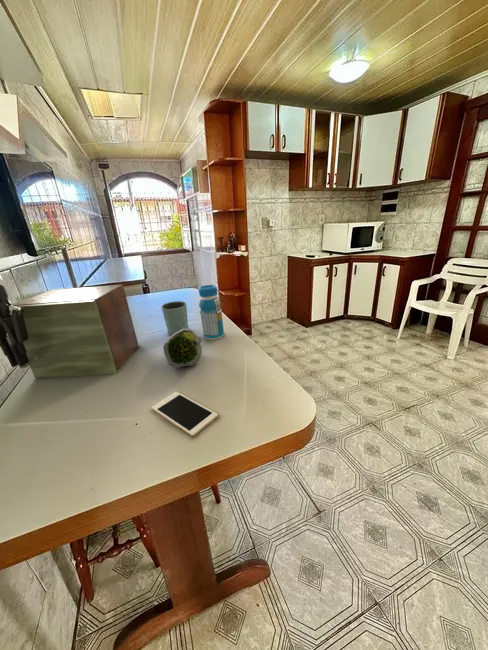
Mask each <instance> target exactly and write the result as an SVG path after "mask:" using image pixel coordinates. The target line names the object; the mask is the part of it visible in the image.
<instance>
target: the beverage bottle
mask: <svg viewBox="0 0 488 650" xmlns="http://www.w3.org/2000/svg"><path fill="white" fill-rule="evenodd" d="M198 294H199V297H200V300H199V302H198V303H199V304H198V307H199V308H200V309H199V315H200V319H201V321H200V322H201V326H202V332H203V337H204V339H206V340H211V341H212V340H213V341H214V340H219V339H220V338H223V337H224V335H225V330H224V321H223V310H222V307H221V301H220V299H219V297H218V287H217V285H214V284H207V285H201V286H199V287H198Z"/></svg>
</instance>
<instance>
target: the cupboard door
mask: <svg viewBox="0 0 488 650" xmlns="http://www.w3.org/2000/svg"><path fill="white" fill-rule="evenodd" d="M15 307H17V308H19V307H23V309H24V312H23V317H24V321H25V325H26V329H27V333H28V337H29V339H27V340H26V341H24V342H23V344H24V346H25V348H26V351H27V352H26V355H27V357H28V359H29V362H28V363H27V364H25V365H24V366H22V367H20V366H19V364H18V365H17V366H18V368H19V369H21V370H22V369H25V368H28V367H29V368H30V370H31V373H32V374H33V377H34V379H52V378H54V379H55V378H67V377H68V378H69V377H81V376H82V377H85V376H100V375H101V376H102V375H115V374H116V373H117V372H118V371H117V369H116V366H115V363H114V359H113V356H112V353H111V349H110V346H109V343H108V339H107V336H106V333H105V329H104V326H103V323H102V320H101V316H100V313H99V310H98V306H97V303H96V300H86V301H73V302H59V303H46V304H33V305H19V306H15ZM7 336H8V335H7ZM6 339H7V341H8V343H9V345H10V348H11V345H12V342H11V340H10V338H9V336H8V337H6ZM11 350H12V348H11ZM12 352H13V351H12ZM13 354H14V353H13ZM14 356H15V355H14ZM15 358H16V357H15ZM16 361H17V359H16ZM17 363H18V362H17Z"/></svg>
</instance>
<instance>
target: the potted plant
mask: <svg viewBox="0 0 488 650" xmlns="http://www.w3.org/2000/svg"><path fill="white" fill-rule="evenodd" d="M202 341H203V338H202V337H201V336H199V335H197V334H196V333H195V331H194V330H192V329H190V328H188V329H183V330H180V331H178V332H176V333H174V334H173V335H170V337H169V338H167V340H166V341H165V342H164V344H163V347H162V350H163V353H164V355H165V358H166V361H167V363H168V365H169V366H172V367H174V368H176V369H177V368H182V367H187V366H188V367H193V366H195V364H197V362H198V361H199V360H200V358H201V356H202V352H203V351H202V349H203V348H202V345H201V342H202Z"/></svg>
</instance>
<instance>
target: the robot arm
mask: <svg viewBox="0 0 488 650" xmlns="http://www.w3.org/2000/svg"><path fill="white" fill-rule="evenodd" d="M2 281H3V278H2V276H1V275H0V348H1V350H2V353H3V355H4V356H5V357H7V359H8V362H9V364H10V366H11V368H16V367H17V366H18V367H19V366H20V367H22V366H24V365H25V364H27V363H28V362H29V359H28V357H27V355H26V352H27V351H26V348H25V346H24V344H23V342H24V341H26V340H27V339H29V337H28V333H27V329H26V325H25V321H24V317H23V312H24V309H23V307H19V308H17V307H15V306H12V304H13V303H12V302H11V301H10V299H9V296H10V295H9V292H8V289H7V287H6V285H5V283H3V282H2ZM8 336H9V338H10V340H11V342H12V345H11V348H12V350H11V348H10V345H9V343H8V341H7V339H6V337H8ZM12 351H13V352H12ZM13 353H14V354H13ZM14 355H15V356H14ZM15 357H16V358H15ZM16 359H17V361H16ZM17 362H18V363H17ZM18 364H19V365H18ZM20 367H19V368H20Z"/></svg>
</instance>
